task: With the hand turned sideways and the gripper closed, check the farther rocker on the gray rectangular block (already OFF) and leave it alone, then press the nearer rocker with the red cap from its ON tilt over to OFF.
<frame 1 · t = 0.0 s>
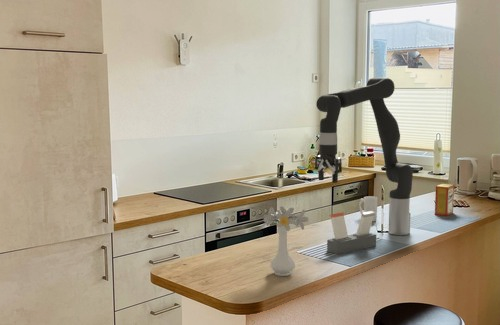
hand: (327, 181, 240), 29 cm above the countertop, tool pointing down, fingers open, 8 cm apart
rocker 2: (365, 223, 245), point 10 cm above the countertop, hinge at -18.0°
flower vase: (283, 273, 213), on the countertop
baking soda box: (443, 214, 310), on the countertop
rocker 1: (339, 225, 241), point 10 cm above the countertop, hinge at 18.0°
gray rectangular block: (352, 248, 244), on the countertop
mug: (367, 220, 297), on the countertop
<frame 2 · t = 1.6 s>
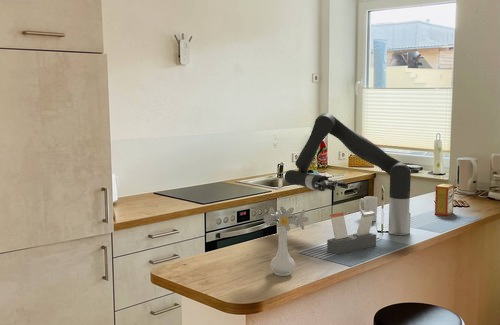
hand: (341, 187, 256), 24 cm above the countertop, tool horizontal, fingers open, 7 cm apart
nothing on the countertop moved.
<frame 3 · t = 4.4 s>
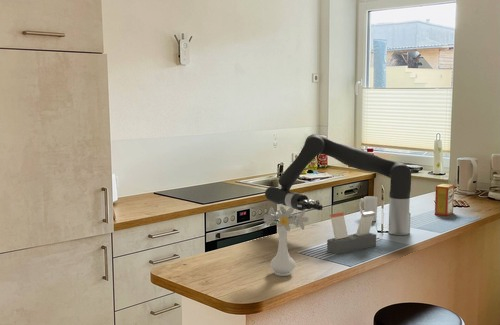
hand: (321, 207, 250), 16 cm above the countertop, tool horizontal, fingers closed
nothing on the countertop moved.
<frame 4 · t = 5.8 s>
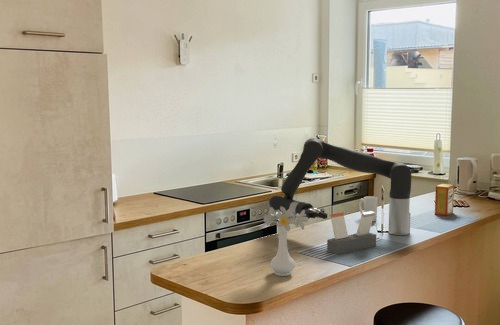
hand: (326, 216, 248), 13 cm above the countertop, tool horizontal, fingers closed
nothing on the countertop moved.
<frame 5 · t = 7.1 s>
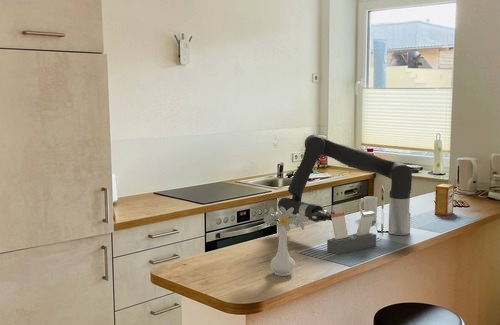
hand: (336, 219, 242), 13 cm above the countertop, tool horizontal, fingers closed
rocker 1: (339, 225, 241), point 10 cm above the countertop, hinge at 15.6°, touching gripper
everything else where it was.
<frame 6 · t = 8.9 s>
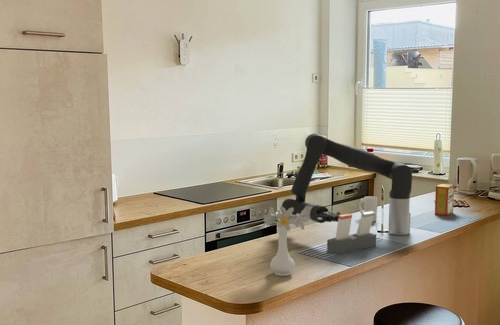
hand: (342, 220, 239), 13 cm above the countertop, tool horizontal, fingers closed
rocker 1: (343, 226, 239), point 11 cm above the countertop, hinge at -10.6°
everything else where it was.
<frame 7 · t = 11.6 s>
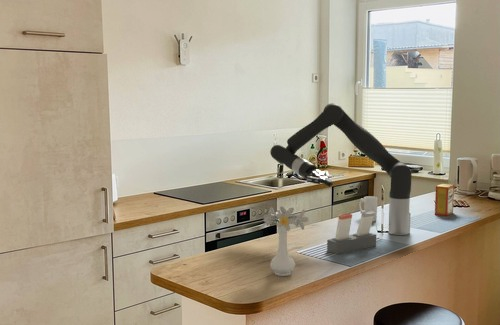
hand: (331, 184, 249), 27 cm above the countertop, tool tilted 70°, fingers closed
nothing on the countertop moved.
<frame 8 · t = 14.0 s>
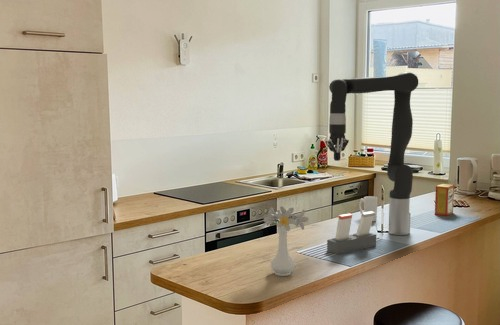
hand: (337, 160, 264), 35 cm above the countertop, tool pointing down, fingers closed
nothing on the countertop moved.
at the end: rocker 1 at -11° (first picture: +18°); rocker 2 at -18° (first picture: -18°) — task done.
